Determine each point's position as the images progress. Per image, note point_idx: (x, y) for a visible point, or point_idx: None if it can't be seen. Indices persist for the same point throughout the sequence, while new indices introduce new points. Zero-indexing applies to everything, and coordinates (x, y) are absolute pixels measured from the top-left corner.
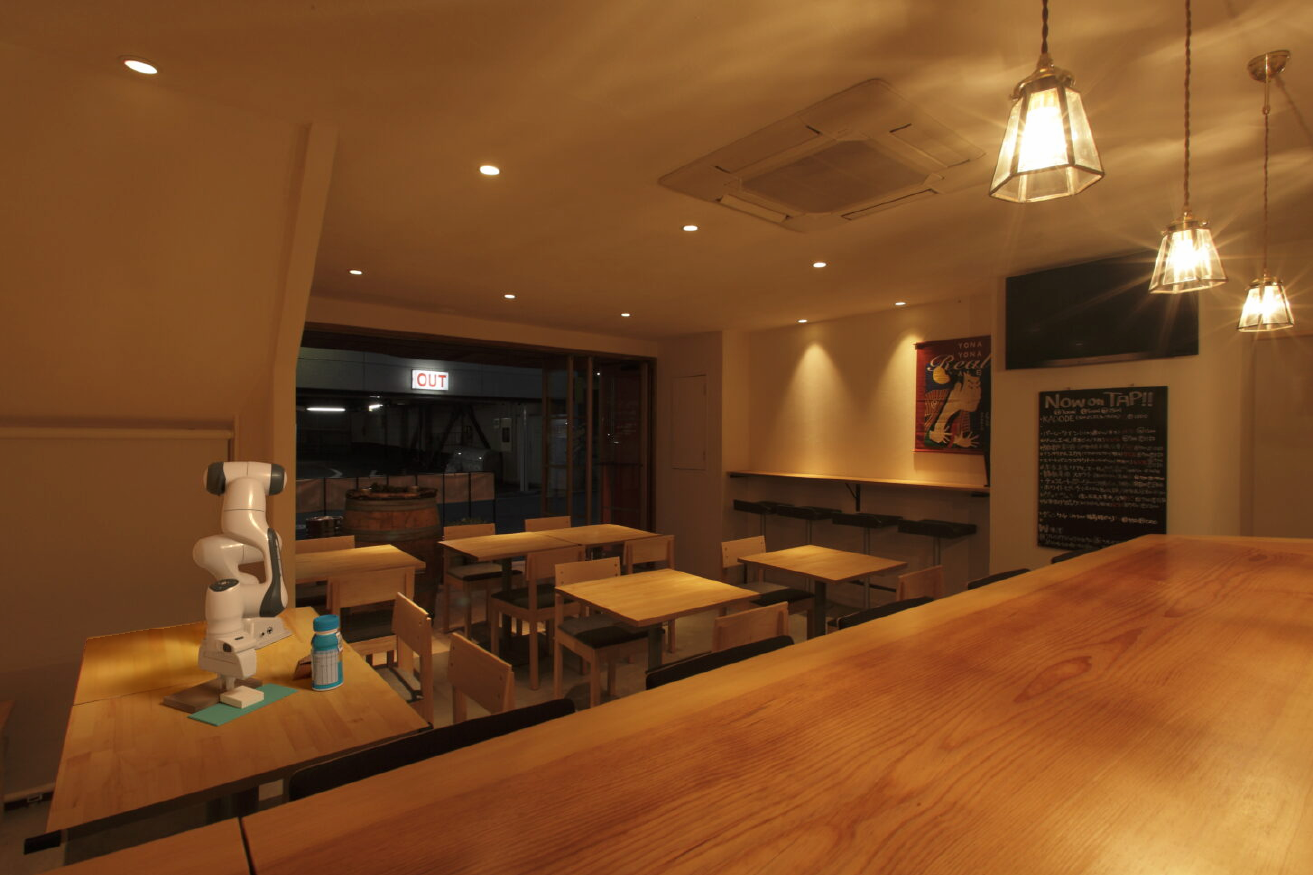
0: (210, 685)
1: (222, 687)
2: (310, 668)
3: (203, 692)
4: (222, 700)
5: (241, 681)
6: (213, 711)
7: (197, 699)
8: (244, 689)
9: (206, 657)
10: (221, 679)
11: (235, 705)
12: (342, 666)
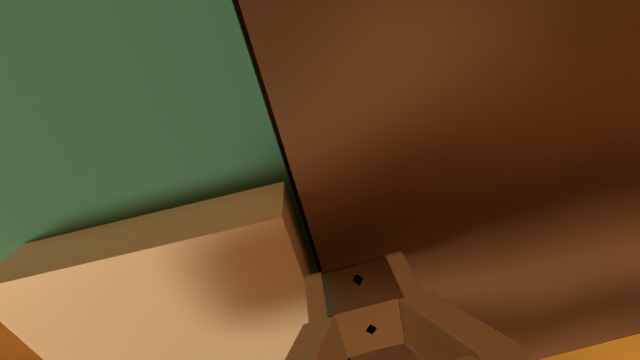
0: (611, 211)
1: (378, 267)
2: None
3: (537, 137)
4: (254, 194)
5: None
6: (119, 84)
7: (424, 40)
8: (241, 345)
9: None
10: (436, 333)
11: (91, 231)
12: None
